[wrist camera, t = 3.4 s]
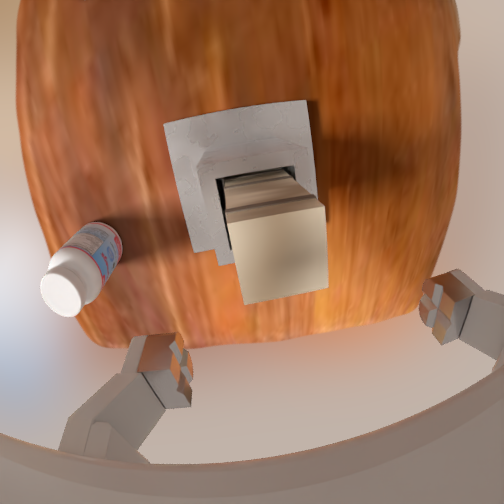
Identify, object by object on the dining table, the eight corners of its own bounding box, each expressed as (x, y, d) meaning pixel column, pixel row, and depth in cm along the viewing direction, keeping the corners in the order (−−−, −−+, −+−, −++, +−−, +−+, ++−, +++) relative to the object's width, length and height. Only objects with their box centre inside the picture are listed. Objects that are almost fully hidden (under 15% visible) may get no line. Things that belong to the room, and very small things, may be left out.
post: (230, 202, 28) (242, 306, 13) (222, 161, 26) (224, 222, 11) (271, 194, 28) (330, 288, 13) (265, 153, 26) (327, 203, 11)
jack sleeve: (195, 247, 32) (184, 312, 21) (166, 123, 26) (130, 126, 15) (316, 224, 32) (359, 278, 22) (302, 100, 26) (351, 91, 15)
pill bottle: (118, 272, 33) (87, 332, 23) (76, 256, 31) (34, 309, 21) (128, 229, 30) (92, 281, 20) (83, 212, 29) (33, 256, 19)
